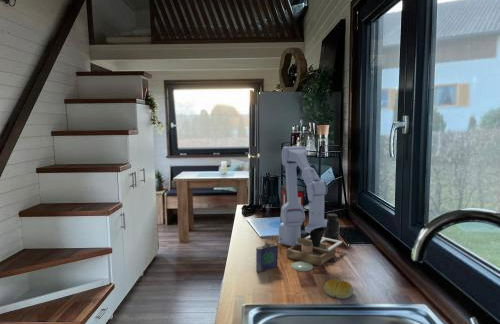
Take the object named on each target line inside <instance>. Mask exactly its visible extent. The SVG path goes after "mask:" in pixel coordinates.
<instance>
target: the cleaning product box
mask: <svg viewBox="0 0 500 324" xmlns="http://www.w3.org/2000/svg"><path fill="white" fill-rule="evenodd" d="M297 192H298V203H299V204H301V205H302V206H303V208H304V209H305V190H304V189H302V188H301V187H300V186H298V185H297ZM279 199H280V204H279V205H280V206H279V207H280V219H279V221H280V223H281V222H282V221H281V207H282V206H283V205H285V204H286V203H287V191H286V184H285V185H280V198H279ZM289 210H295V209H289ZM303 230H304V231H305V221H304V222H303V223H302V225H301V231H303Z"/></svg>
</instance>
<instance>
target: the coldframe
mask: <svg viewBox="0 0 500 324" xmlns="http://www.w3.org/2000/svg"><path fill="white" fill-rule="evenodd" d="M329 247H330V246H328V248H329ZM301 251H302V245H298V244H296V245H294V246H290V247H289V248H287V249H286V258H289V259H292V260H298V261H300V262H308V263H311V264H312V265H315V266H316V265H317V266H319V267H321V266H323V264H326V263H327V262H328V261H330V260H331V259H332V258H334V257H335V256H336V247H335V248H334V249H332V250H331V251H329V252H328V251H324V250H320V249H315V248H313V255H312V254H308V253H304V252H301Z"/></svg>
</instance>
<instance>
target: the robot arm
mask: <svg viewBox="0 0 500 324" xmlns="http://www.w3.org/2000/svg"><path fill="white" fill-rule="evenodd" d="M280 152H281V153H280V155H281V164H282V166H284V170H285V183H286V184H285V185H286V191H287V203H286V204H285V205H283V206H282V207H281V221H282V223H281V221H280V224H279V227H278V242H277V244H282V245H286V246H290V247H292V246H294V245H296V242H298V238H302V236H301V234H302V233H301V232H302V230H301V225H302V223H303V222H304V223H305V219H306V214H305V207H304V208H303V206H302V205H301V204H299V203H298V192H297V186H298V175H297V167H299V168H300V170H301V171H302V172H301V178H302V179H303V181H304V183H305V185H306V194H307V199H308V200H307V201H308V223H307V224H306V226H304V233H308V234H309V235H310V237H311V238H310V240H312V244H313V246H314V247H319V246H320V242H321V240H322V239H321V238H322V237H323V236H324V231H325V228H324V227H326V226H327V218H326V219H325V196H326V195H327V194H328V192H329V191H328V183H327V182H326V180H323V179H322V178H320V176H319V175H318V173H317V171H316V169H315V168H313V167H311V165H310V163H309V161H308V158H307V155H308V151H307V148H306V146H305V145H301V146H300V145H299V146H283V147H282V149H281V151H280ZM289 209H295V210H289Z"/></svg>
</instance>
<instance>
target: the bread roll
mask: <svg viewBox="0 0 500 324" xmlns="http://www.w3.org/2000/svg"><path fill="white" fill-rule="evenodd" d="M323 289H324V292H325V293H326V295H327V296H330V297H333V298H337V299H340V300H341V299H345V300H346V299H349V298H350V297H352V295H353V293H354V287H353V286H352V284H351V283H349V282H348V281H345V280H342V281H339V280H338V279H335V278H334V279H329V280H328V281H326V282H325V283H324V288H323Z"/></svg>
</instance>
